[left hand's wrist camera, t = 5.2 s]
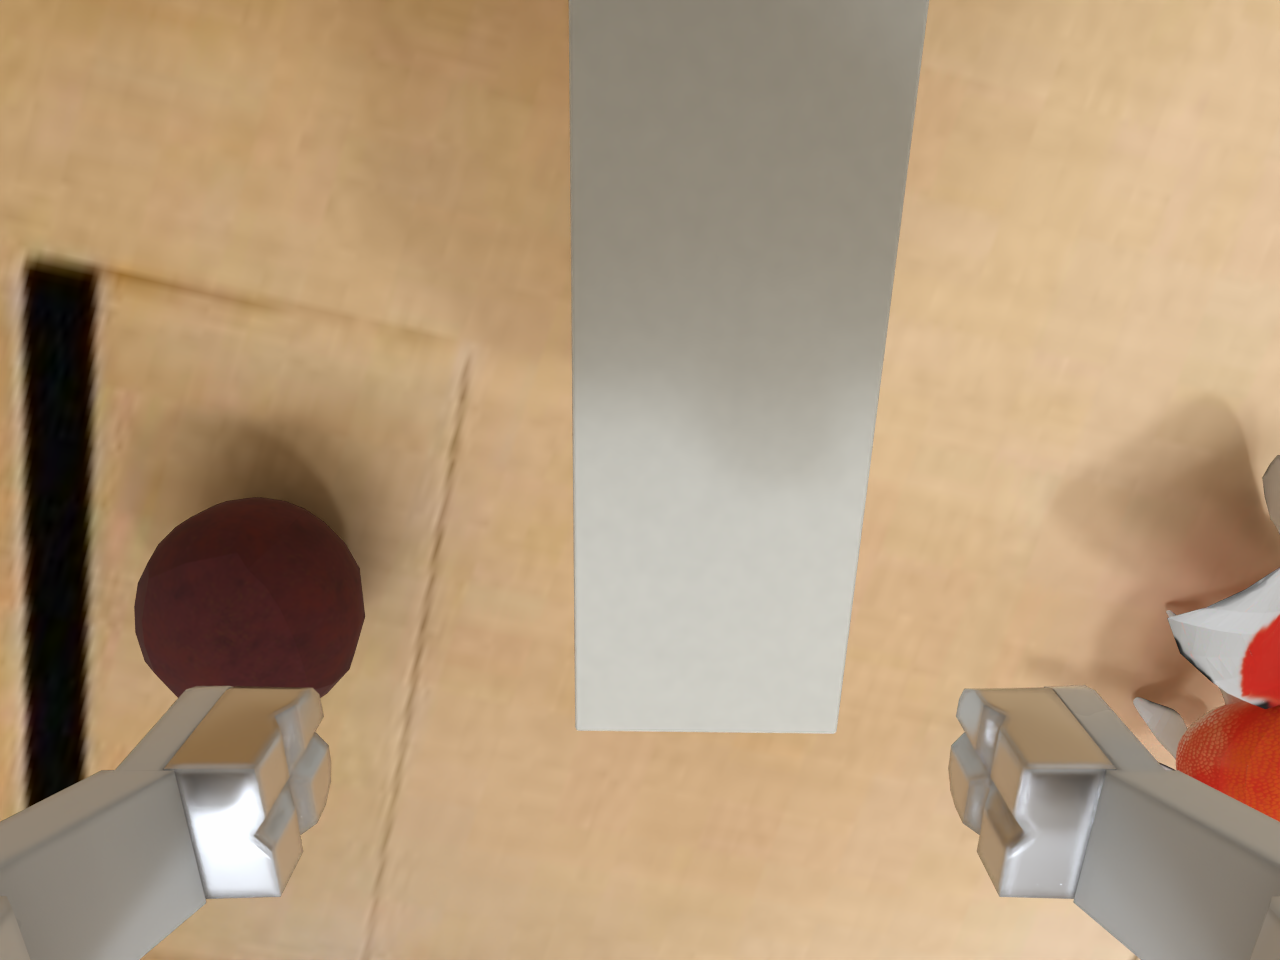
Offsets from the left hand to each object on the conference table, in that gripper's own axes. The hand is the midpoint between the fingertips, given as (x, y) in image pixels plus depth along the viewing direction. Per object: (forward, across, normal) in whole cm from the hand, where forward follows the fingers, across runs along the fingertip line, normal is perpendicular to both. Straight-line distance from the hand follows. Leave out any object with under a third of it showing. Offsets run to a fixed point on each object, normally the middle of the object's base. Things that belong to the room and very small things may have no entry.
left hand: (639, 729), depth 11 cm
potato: (+20, +13, +8) cm, 25 cm away
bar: (+13, -1, -8) cm, 15 cm away
